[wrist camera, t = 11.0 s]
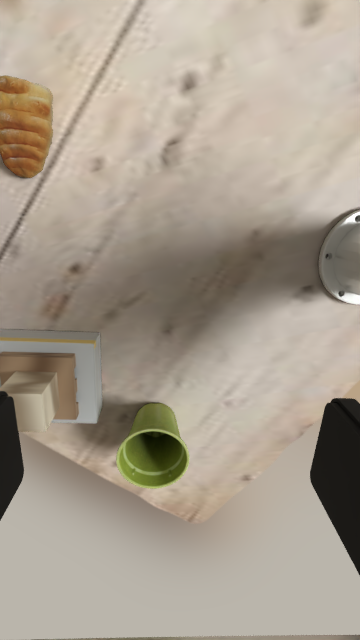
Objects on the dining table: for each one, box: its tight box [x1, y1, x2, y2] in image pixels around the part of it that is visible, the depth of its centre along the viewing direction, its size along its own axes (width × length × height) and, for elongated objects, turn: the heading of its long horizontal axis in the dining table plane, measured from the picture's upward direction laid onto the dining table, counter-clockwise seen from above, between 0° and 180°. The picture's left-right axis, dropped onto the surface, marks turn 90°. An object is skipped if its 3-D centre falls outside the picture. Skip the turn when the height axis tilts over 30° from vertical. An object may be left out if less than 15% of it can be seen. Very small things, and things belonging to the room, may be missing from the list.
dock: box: [0, 329, 102, 423], centre depth 43 cm, size 14×12×4 cm
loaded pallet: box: [0, 351, 79, 432], centre depth 38 cm, size 9×9×6 cm
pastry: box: [0, 76, 53, 178], centre depth 34 cm, size 9×7×4 cm
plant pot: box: [116, 403, 189, 489], centre depth 44 cm, size 9×9×9 cm
